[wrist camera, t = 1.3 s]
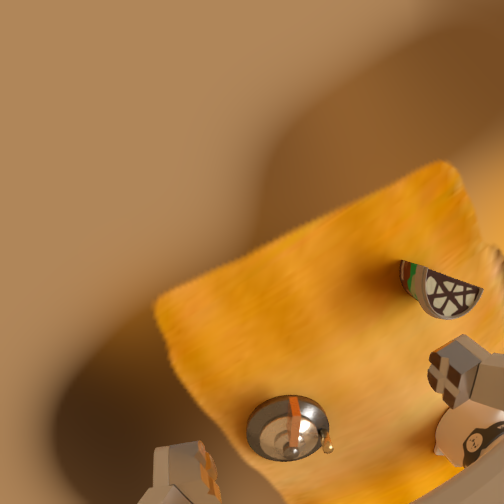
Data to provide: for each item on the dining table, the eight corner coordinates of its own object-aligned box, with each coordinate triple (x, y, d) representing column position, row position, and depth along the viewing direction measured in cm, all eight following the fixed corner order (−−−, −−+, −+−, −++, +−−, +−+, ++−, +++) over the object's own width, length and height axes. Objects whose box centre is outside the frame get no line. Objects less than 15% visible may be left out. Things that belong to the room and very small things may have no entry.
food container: (381, 294, 46) (408, 312, 37) (393, 256, 46) (424, 266, 36) (439, 312, 47) (471, 330, 37) (451, 277, 46) (486, 289, 36)
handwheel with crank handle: (342, 412, 49) (353, 437, 41) (297, 463, 50) (301, 489, 43) (274, 382, 48) (277, 407, 41) (232, 437, 49) (229, 464, 42)
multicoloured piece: (313, 453, 47) (319, 477, 41) (259, 454, 47) (259, 480, 41) (322, 390, 46) (331, 413, 39) (261, 392, 46) (261, 416, 39)
